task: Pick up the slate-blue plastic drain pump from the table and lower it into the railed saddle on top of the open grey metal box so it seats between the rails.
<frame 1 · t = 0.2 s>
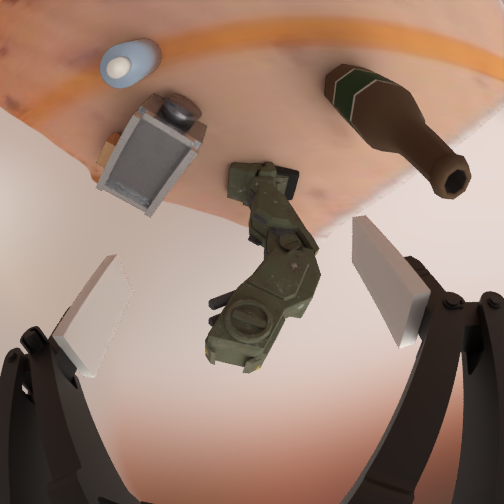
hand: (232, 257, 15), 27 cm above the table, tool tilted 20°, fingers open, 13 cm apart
mechanical leg: (257, 179, 42), on the table
open grey metal box: (156, 143, 36), on the table
pump: (141, 57, 27), on the table
beer bottle: (348, 87, 31), on the table
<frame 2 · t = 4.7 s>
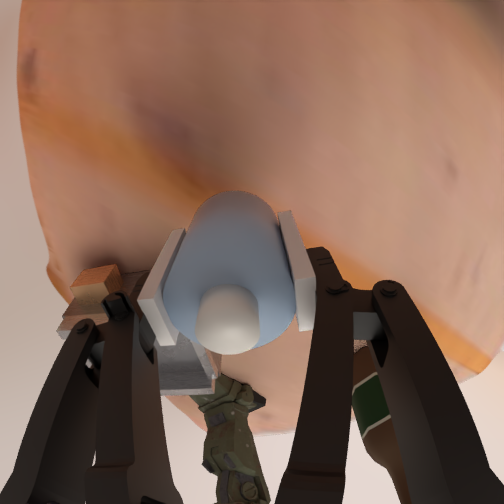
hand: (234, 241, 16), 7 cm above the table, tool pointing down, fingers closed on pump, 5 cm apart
mechanical leg: (224, 389, 35), on the table
open grey metal box: (153, 308, 27), on the table
pump: (235, 233, 17), point 6 cm above the table, touching gripper
beer bottle: (366, 360, 34), on the table
when the fingers open (7 cm above the table, at t = 8.6 s): pump stays where it is, resting on open grey metal box.
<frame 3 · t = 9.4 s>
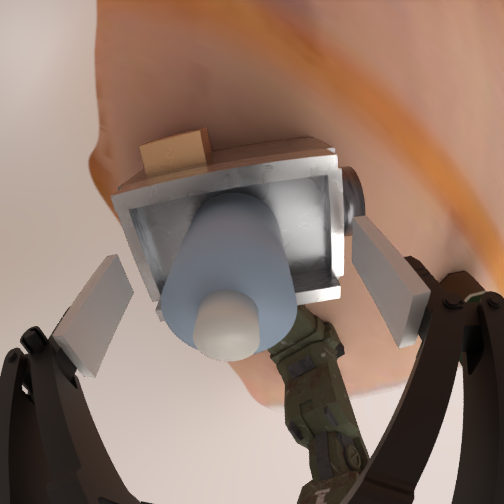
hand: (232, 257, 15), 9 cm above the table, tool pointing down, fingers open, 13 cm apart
mechanical leg: (299, 333, 30), on the table
open grey metal box: (237, 202, 22), on the table
pump: (234, 235, 17), point 6 cm above the table, touching open grey metal box
beer bottle: (448, 293, 28), on the table
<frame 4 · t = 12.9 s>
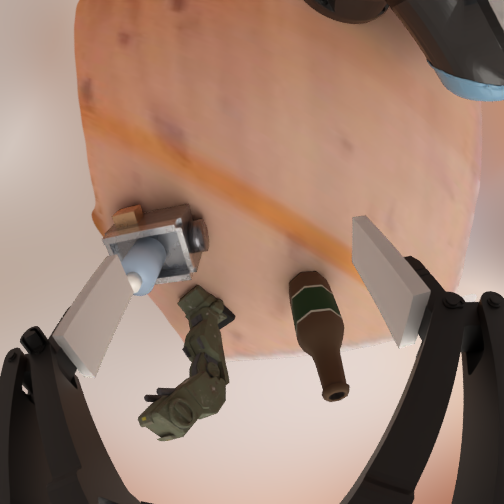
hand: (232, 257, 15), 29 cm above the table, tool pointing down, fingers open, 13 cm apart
mechanical leg: (204, 304, 53), on the table
open grey metal box: (159, 235, 45), on the table
pump: (149, 253, 40), point 6 cm above the table, touching open grey metal box
beer bottle: (307, 286, 51), on the table
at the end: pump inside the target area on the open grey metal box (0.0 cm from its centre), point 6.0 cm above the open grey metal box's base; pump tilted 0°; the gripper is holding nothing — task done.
